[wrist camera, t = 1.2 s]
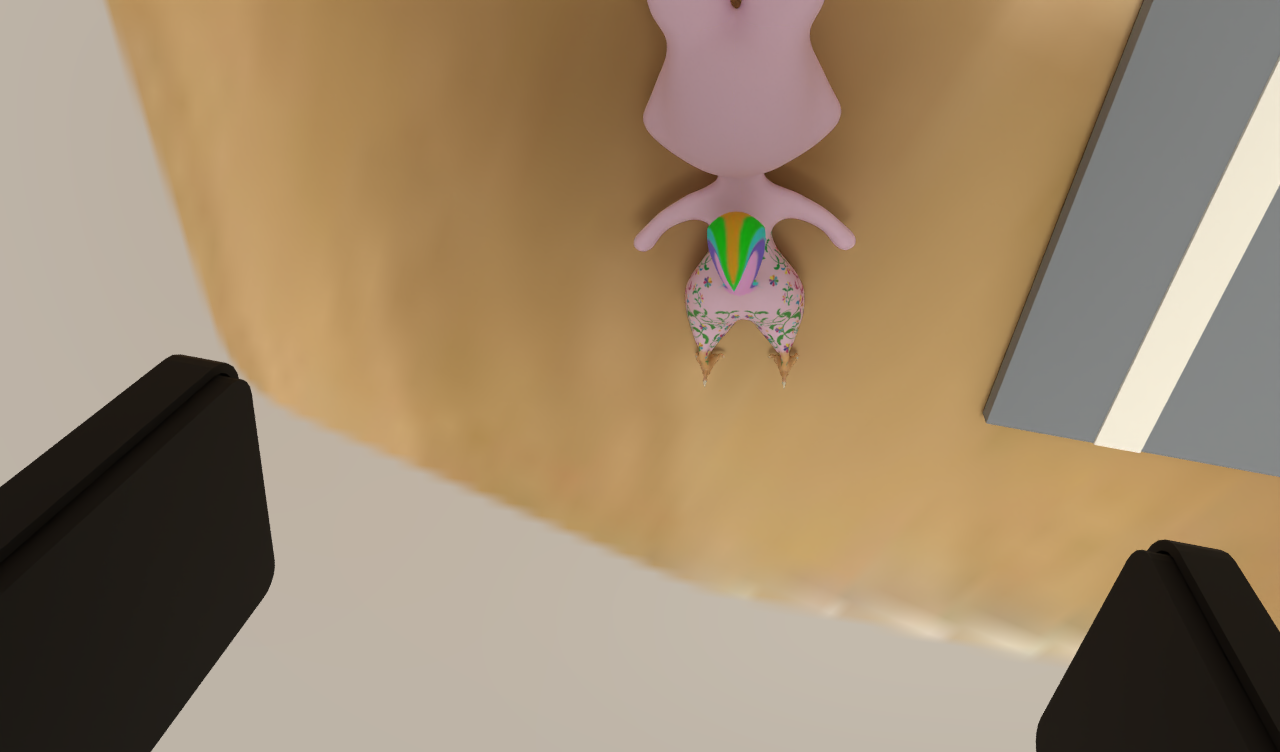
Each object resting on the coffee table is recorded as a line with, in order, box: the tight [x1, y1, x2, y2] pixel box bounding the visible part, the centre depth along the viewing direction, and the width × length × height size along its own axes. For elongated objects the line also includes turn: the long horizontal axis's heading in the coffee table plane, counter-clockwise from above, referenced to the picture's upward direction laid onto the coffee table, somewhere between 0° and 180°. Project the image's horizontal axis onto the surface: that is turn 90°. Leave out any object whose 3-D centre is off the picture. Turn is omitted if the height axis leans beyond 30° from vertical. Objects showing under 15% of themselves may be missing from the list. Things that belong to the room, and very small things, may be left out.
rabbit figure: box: [634, 0, 856, 388], centre depth 22 cm, size 6×6×15 cm
